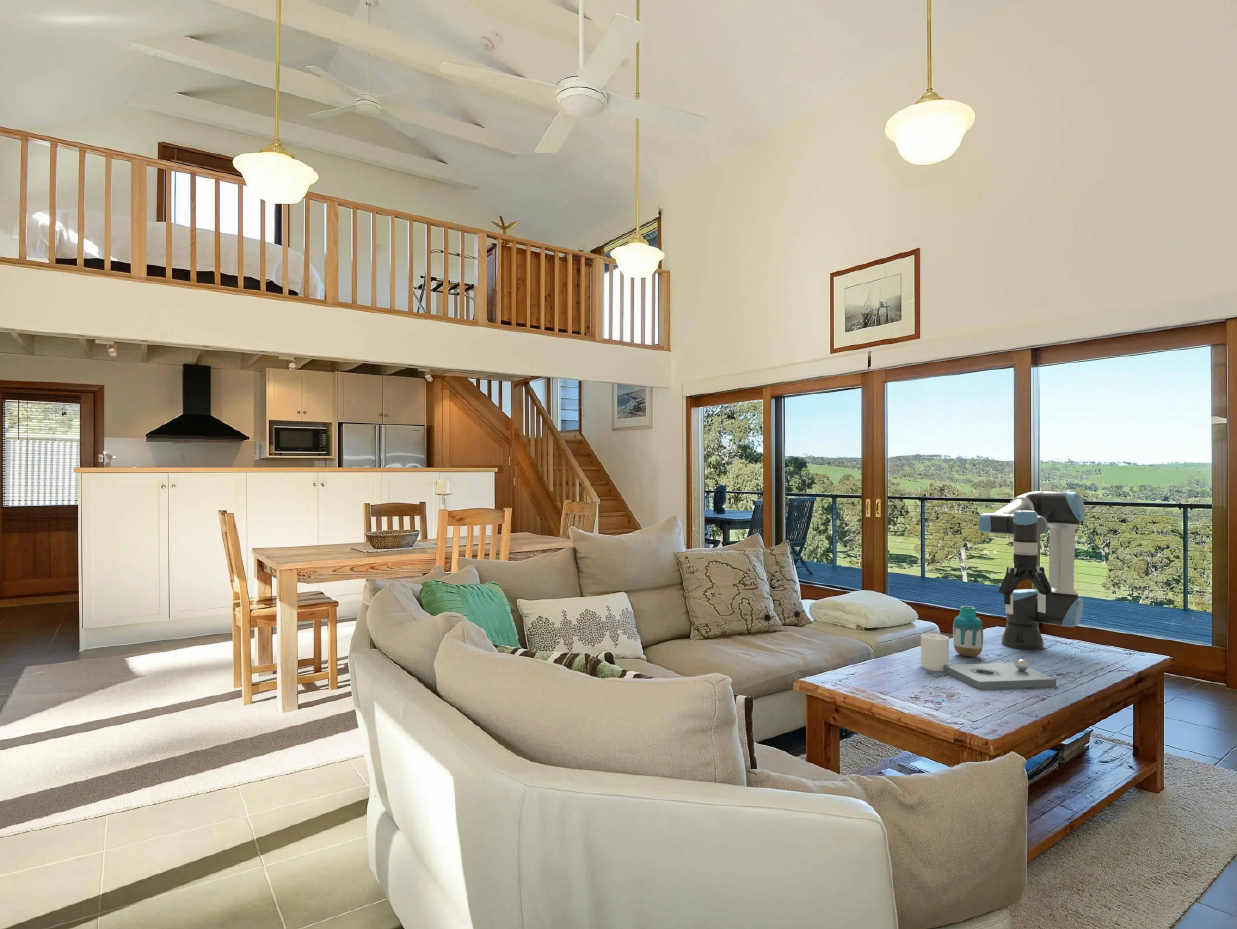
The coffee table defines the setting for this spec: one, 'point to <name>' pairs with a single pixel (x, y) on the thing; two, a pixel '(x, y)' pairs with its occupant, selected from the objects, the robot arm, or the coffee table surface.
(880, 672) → the coffee table surface
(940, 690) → the coffee table surface
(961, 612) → the vase
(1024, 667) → the ball
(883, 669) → the coffee table surface
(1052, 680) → the grey plate with hole
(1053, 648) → the coffee table surface
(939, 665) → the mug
